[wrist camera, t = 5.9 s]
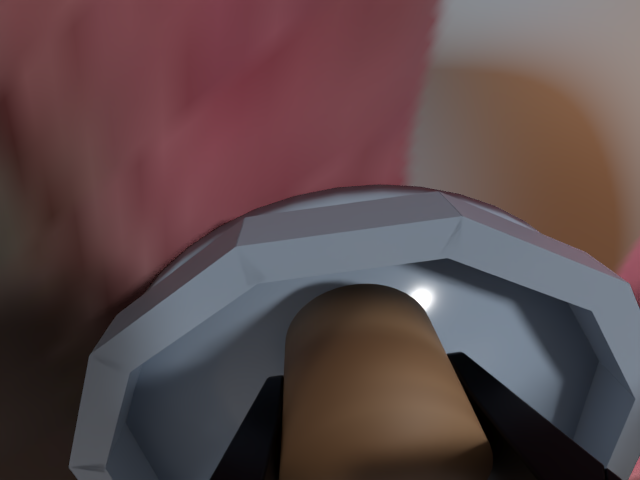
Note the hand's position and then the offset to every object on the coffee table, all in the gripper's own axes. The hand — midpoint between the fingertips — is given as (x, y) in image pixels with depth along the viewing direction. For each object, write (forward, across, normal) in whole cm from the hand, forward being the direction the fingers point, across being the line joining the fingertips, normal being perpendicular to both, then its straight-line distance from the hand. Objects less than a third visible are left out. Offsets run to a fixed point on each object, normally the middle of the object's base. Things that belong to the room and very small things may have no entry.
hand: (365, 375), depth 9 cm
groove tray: (+3, 0, +5) cm, 6 cm away
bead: (+1, 0, 0) cm, 1 cm away
